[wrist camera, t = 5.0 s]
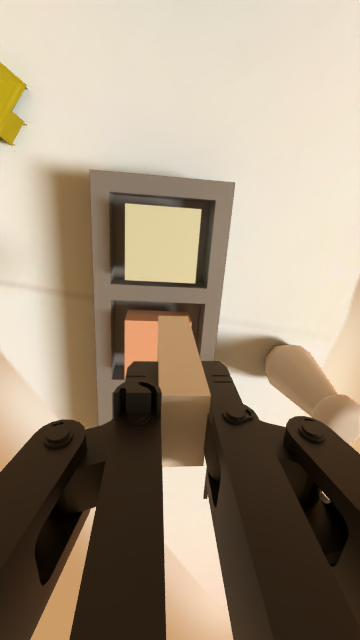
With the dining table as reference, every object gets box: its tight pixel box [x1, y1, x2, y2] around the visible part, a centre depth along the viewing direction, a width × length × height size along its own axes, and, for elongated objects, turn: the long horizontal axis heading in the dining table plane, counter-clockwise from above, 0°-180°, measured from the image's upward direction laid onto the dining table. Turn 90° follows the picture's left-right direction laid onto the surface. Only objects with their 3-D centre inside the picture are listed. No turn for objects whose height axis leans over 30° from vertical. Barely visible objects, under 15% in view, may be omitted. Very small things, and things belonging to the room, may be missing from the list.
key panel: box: [90, 170, 235, 426], centre depth 30 cm, size 30×12×5 cm, turn 176°
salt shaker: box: [266, 345, 360, 443], centre depth 30 cm, size 6×6×13 cm
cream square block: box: [125, 203, 202, 283], centre depth 24 cm, size 6×6×3 cm
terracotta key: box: [125, 310, 192, 377], centre depth 28 cm, size 6×6×3 cm
